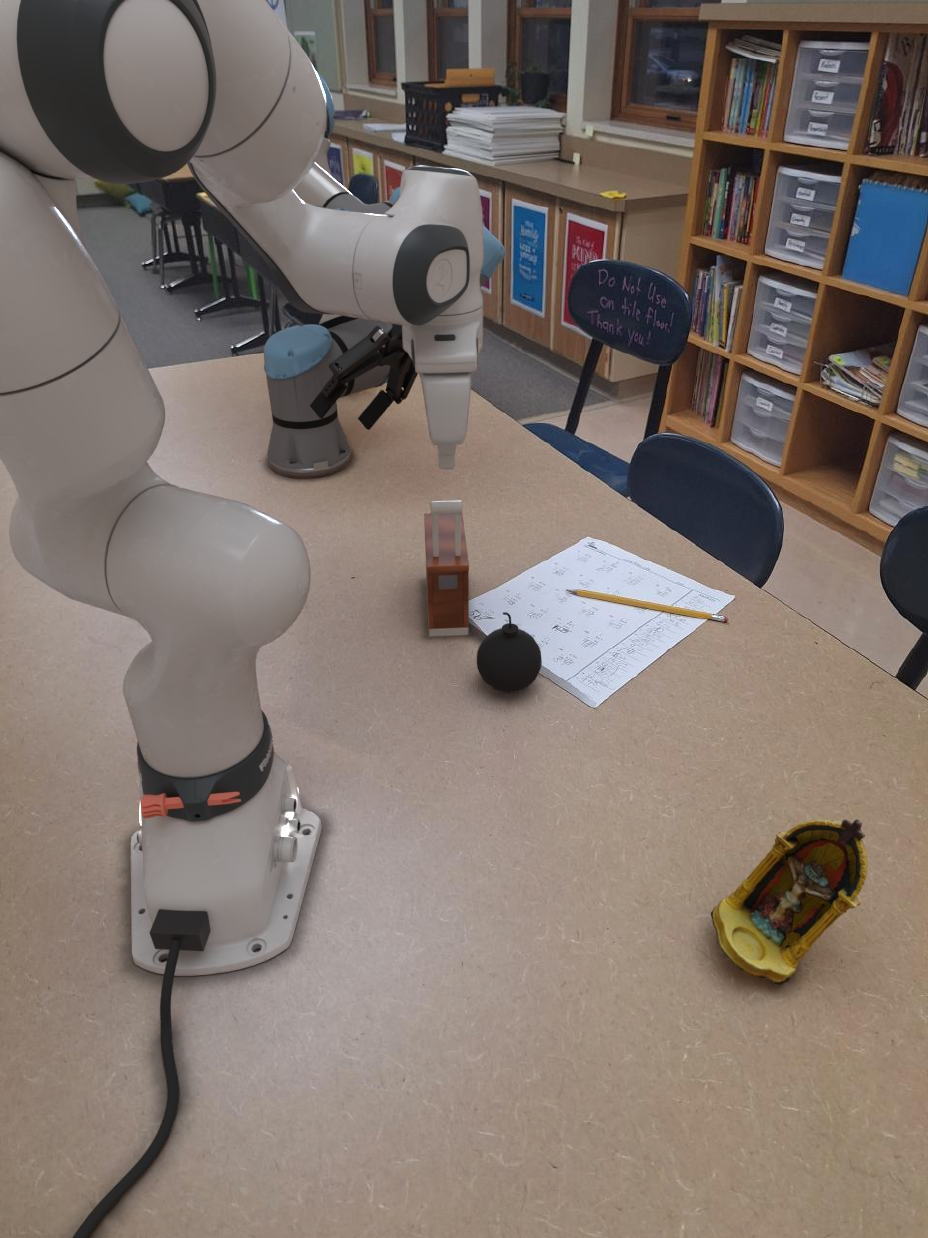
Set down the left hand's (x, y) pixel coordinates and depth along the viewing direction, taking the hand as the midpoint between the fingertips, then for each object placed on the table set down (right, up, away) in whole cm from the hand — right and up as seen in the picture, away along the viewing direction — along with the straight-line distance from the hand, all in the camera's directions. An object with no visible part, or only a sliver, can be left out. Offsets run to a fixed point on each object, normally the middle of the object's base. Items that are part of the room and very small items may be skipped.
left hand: (444, 449), depth 102 cm
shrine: (+29, -49, -25) cm, 63 cm away
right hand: (-18, +13, +38) cm, 44 cm away
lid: (0, -10, +13) cm, 16 cm away
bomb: (+8, -28, +5) cm, 30 cm away
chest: (0, -18, +19) cm, 26 cm away
